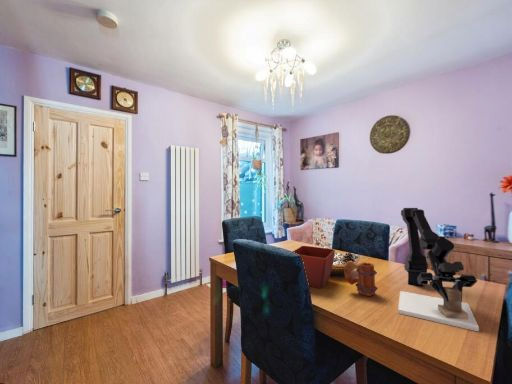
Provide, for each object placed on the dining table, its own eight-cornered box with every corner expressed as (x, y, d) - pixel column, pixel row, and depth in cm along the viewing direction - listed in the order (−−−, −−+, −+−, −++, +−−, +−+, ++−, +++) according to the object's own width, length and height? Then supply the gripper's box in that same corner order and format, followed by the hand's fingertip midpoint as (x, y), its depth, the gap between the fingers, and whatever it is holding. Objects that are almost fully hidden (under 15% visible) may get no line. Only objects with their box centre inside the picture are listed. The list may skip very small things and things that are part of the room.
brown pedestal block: (446, 317, 90) (445, 292, 89) (437, 309, 95) (437, 285, 95) (468, 319, 88) (467, 293, 88) (458, 311, 94) (458, 286, 94)
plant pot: (326, 292, 116) (325, 258, 116) (289, 285, 126) (289, 253, 126) (336, 279, 132) (335, 249, 132) (302, 273, 142) (302, 245, 142)
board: (398, 313, 96) (398, 309, 96) (400, 294, 113) (400, 290, 113) (478, 331, 83) (478, 327, 83) (467, 306, 100) (467, 303, 100)
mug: (376, 291, 116) (375, 260, 116) (378, 298, 109) (378, 265, 109) (344, 287, 121) (343, 258, 121) (344, 294, 114) (343, 263, 113)
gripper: (419, 252, 97) (433, 291, 87) (474, 254, 93) (495, 295, 82) (411, 265, 105) (423, 302, 95) (461, 267, 101) (479, 306, 90)
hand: (454, 301), depth 90 cm, fingers closed on brown pedestal block, 4 cm apart
